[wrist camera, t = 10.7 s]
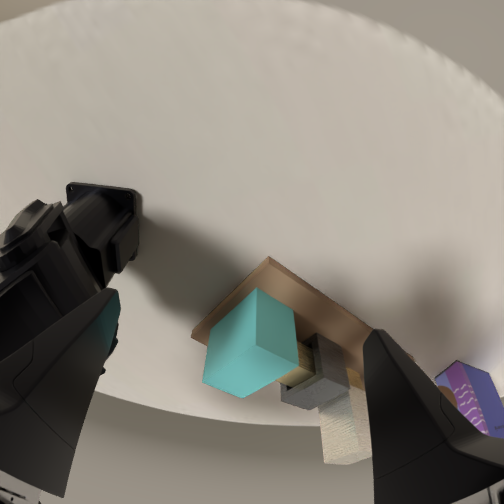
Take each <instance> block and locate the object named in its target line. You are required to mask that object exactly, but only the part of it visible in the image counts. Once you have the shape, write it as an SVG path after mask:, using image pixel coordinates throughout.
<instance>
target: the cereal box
mask: <svg viewBox="0 0 504 504" xmlns="http://www.w3.org/2000/svg"><path fill="white" fill-rule="evenodd" d="M435 380H436V383H437V386H438V388H439V390H440V392H442V393H443V394H444V395H445V396H446V397H447V398H448V400H449V401H450V402H451V403H452V404H453V405H454V406H455V407H456V408H457V409H458V410H459V411H460V412H461V413H462V414H463V415H464V416H465V417H466V418H467V419H468V420H469V421H470V422H471V423H472V424H473V425H474V426H475V427H476V428H477V429H478V430H479V431H481V432H482V433H484V434H486V435H488V436H492V437H498V438H504V407H503V405H502V402H501V400H500V397H499V395H498V393H497V390H496V388H495V386H494V384H493V381H492V379H491V377H490V375H489V373H488V372H485V371H483V370H480V369H477V368H475V367H472V366H470V365H467V364H465V363H462V362H460V361H457V360H456V361H455V362H454V363H453V364H451V365H450V366H449V367H448V368H447V369H445V370H444V371H443V372H442V373H440V374H439V375H438V376H436V377H435Z"/></svg>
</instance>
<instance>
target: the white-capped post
mask: <svg viewBox="0 0 504 504" xmlns="http://www.w3.org/2000/svg"><path fill="white" fill-rule="evenodd" d="M297 350H298V359H299V366H298V367H296V368H295V369H293V370H292V371H290V372H288V373H287V374H285V375H283V376H282V377H280V378H278V379H276V380H275V381H278V382H280V383H283V384H285V385H288V386H290V387H295V386H297V385H299V384H301V383H302V382H304V381H306V380H308V379H309V378H311V377H313V376H314V375H316V370H315V363H314V356H313V349H311V348H309V347H307V346H305V345H303V344H301V343H299V342H297ZM346 369H347V374H348V379H349V384H350V388H351V389H350V390H348V391H346V392H344V393H342V394H340V395H339V396H337V397H335V398H333V399H331V400H329V401H327V402H325V403H323V404H321V405H319V406H318V408H319V417H320V426H321V435H322V445H323V455H324V463H331V464H344V465H349V464H352V463H354V462H357V461H360V460H363V459H365V458H368V457H371V456H372V448H371V437H370V427H369V417H368V409H367V401H366V393H365V391H363V386H362V382H361V378H360V374H359V373H358V372H356V371H354V370H352V369H350V368H348V367H346Z"/></svg>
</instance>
